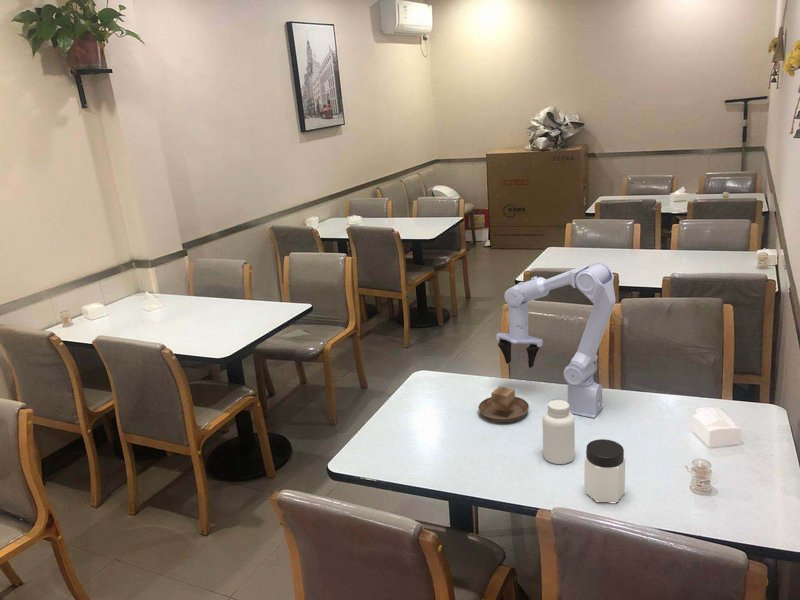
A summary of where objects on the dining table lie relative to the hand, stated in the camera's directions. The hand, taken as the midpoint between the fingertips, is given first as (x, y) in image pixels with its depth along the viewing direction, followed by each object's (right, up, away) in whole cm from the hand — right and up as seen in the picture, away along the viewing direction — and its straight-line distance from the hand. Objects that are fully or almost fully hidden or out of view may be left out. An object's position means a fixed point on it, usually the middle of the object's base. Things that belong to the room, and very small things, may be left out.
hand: (519, 364), depth 196 cm
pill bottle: (+4, -21, -33) cm, 39 cm away
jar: (+10, -25, -49) cm, 56 cm away
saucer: (-6, -14, -8) cm, 18 cm away
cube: (-7, -11, -9) cm, 16 cm away
